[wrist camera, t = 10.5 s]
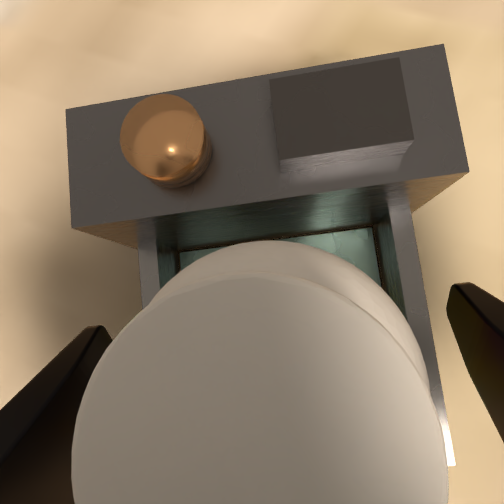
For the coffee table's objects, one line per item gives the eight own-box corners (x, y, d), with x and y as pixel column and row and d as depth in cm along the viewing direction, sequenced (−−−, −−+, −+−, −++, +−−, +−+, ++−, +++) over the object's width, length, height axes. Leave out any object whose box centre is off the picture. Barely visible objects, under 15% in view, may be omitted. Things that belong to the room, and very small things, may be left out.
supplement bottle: (388, 359, 17) (698, 555, 4) (270, 450, 17) (197, 936, 4) (294, 242, 18) (295, 98, 5) (184, 328, 18) (-92, 402, 5)
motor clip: (436, 434, 16) (578, 568, 8) (169, 455, 17) (62, 592, 9) (386, 141, 18) (461, 13, 10) (147, 177, 19) (41, 89, 11)
